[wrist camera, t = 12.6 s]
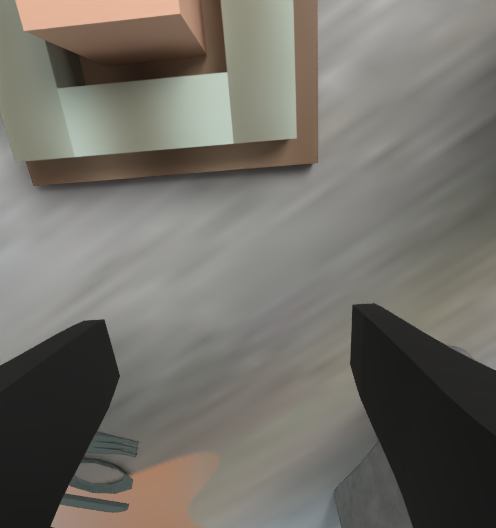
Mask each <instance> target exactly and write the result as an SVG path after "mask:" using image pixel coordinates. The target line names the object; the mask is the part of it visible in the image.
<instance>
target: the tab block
mask: <svg viewBox="0 0 496 528" xmlns="http://www.w3.org/2000/svg"><path fill="white" fill-rule="evenodd" d="M15 1H16V5H17V8H18V12H19V16H20V19H21V23H22V26H23V30H24V31H25V32H27V33H30V34H32V35H34V36H37V37H39V38H41V39H44V40H46V41H48V42H50V43H53V44H55V45H57V46H60V47H62V48H64V49H67V50H69V51H71V52H74V53H76V54H78V55H81V56H83V57H85V58H88V59H90V60H92V61H95V62H97V63H99V64H102V65H104V66H109V65H118V64H128V63H138V62H147V61H157V60H167V59H176V58H186V57H195V56H205V55H207V50H206V41H205V32H204V23H203V14H202V6H201V0H15Z"/></svg>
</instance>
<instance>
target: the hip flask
mask: <svg viewBox="0 0 496 528" xmlns="http://www.w3.org/2000/svg"><path fill="white" fill-rule="evenodd" d="M450 348H452V349H454V350H456V351H458V352H460V353H462V354H463V355H465V356H467V357H469V358H471V359H473V358H472V357H471V356H470V355H469V354H468V353H467V352H466V351H464V350H463V349H461V348H458V347H450ZM473 360H474V359H473ZM334 495H335V500H336V505H337V510H338V514H339V519H340V523H341V528H413V526H412V523H411V520H410V517H409V514H408V511H407V509H406V506H405V503H404V500H403V497H402V494H401V491H400V489H399V486H398V484H397V481H396V479H395V476H394V474H393V471H392V469H391V467H390V465H389V462H388V460H387V458H386V456H385V453H384V451H383V449H382V446H381V444H380V442H379V441H378V443H377V444H376V445H375V446H374V448H373V449H372V450H371V452H370V453H369V454H368V455H367V457H366V458H365V459H364V460H363V461H362V462H361V464H360V465H359V466H358V467H357V468H356V469H355V470H354V471H353V472H352V473H351V474H350V475H349V476H348V477H347V478H346V479H345V480H344V481H343V482H342V483H341V484H340V485H339V486H338V487H337V488H336V490H335V493H334Z"/></svg>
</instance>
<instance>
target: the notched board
mask: <svg viewBox="0 0 496 528" xmlns="http://www.w3.org/2000/svg"><path fill="white" fill-rule="evenodd" d="M201 6H202V14H203V23H204V32H205V41H206V50H207V55H205V56H195V57H186V58H176V59H167V60H157V61H147V62H138V63H128V64H118V65H109V66H104V65H102V64H99V63H97V62H95V61H92V60H90V59H88V58H85V57H83V56H81V55H78V54H76V53H74V52H71V51H69V50H67V49H64V48H62V47H60V46H57V45H55V44H53V43H50V42H48V41H46V40H44V39H41V38H39V37H37V36H34V35H32V34H30V33H27V32H25V31H24V30H23V26H22V23H21V19H20V16H19V12H18V8H17V5H16V1H15V0H0V114H1V118H2V121H3V124H4V127H5V130H6V133H7V136H8V139H9V142H10V145H11V149H12V152H13V155H14V158H15V161H16V162H23V161H26V163H27V167H28V170H29V173H30V176H31V179H32V183H33V186H39V185H52V184H64V183H76V182H89V181H101V180H113V179H126V178H138V177H151V176H163V175H175V174H188V173H200V172H213V171H225V170H237V169H250V168H262V167H275V166H287V165H299V164H312V163H318V37H317V0H201Z"/></svg>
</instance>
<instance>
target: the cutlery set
mask: <svg viewBox="0 0 496 528" xmlns="http://www.w3.org/2000/svg"><path fill="white" fill-rule="evenodd" d="M115 442H120V443H128V444H132V445H137V446H138V443H139V442H137V441H133V440H128V439H124V438H120V437H115V436H111V435H107V434H103V433H98V432H96V434H95V436H94V438H93V440H92V441H91V443H90V445H89V447H88V449H87V451H86V452H87V453H108V454H121V455H127V456H132V457H136V455H137V453H133V452H129V451H124V450H120V449H127V450H132V451H136V452H137V449H138V448H137V447H133V446H128V445H124V444H120V443H115ZM116 448H120V449H116ZM81 463H97V464H100V465H104V466H107V467H110V468H114V469H117V470H119V471H120V472H122V473H123V474H124V475H123V478H121V479H119V480H115V481H112V482H107V483H101V484H92V483H89V482H86V481H83V480H80V479H78V478H77V477H76V476H73V478H72V480H71V482H70V484H69V485H70V486H72V487H75V488H78V489H82V490H85V491H89V492H92V493H113V494H115V493H119V492H122V491H126V490H129V489H132V483H133V479H132V478H130V477H129V476H128V475H127V474H126V473H124V472H123V471H122V470H120V469H119V468H118V467H116V466H115V465H113V464H110V463H106V462H103V461H100V460H97V459H82V461H81ZM60 504H62V505H67V506H73V507H78V508H85V509H91V510H98V511H104V512H122V511H126V510H127V509H128V506H129V504H126V503H120V502H114V501H108V500H102V499H95V498H89V497H83V496H77V495H71V494H64V496H63V498H62V500H61V502H60ZM50 528H52V527H50Z"/></svg>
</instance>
